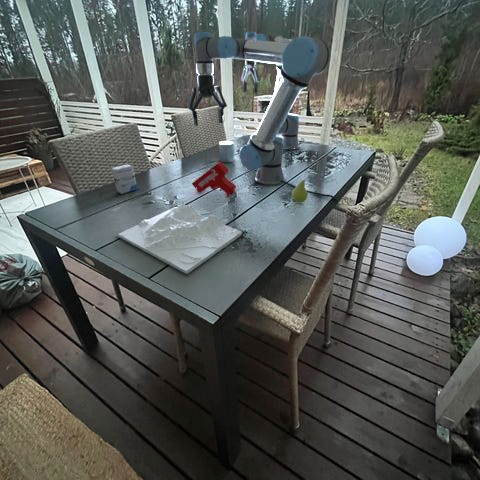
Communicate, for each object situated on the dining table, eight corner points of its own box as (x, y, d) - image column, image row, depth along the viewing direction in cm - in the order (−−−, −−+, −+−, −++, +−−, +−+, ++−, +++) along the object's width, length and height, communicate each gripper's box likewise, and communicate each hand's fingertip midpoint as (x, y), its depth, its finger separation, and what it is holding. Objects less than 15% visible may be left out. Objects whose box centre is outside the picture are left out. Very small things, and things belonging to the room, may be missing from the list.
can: (236, 160, 176) (236, 142, 170) (226, 163, 171) (225, 145, 165) (227, 157, 181) (226, 140, 175) (217, 160, 176) (216, 142, 170)
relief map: (186, 274, 80) (184, 260, 77) (118, 236, 97) (114, 224, 95) (241, 234, 98) (241, 222, 95) (176, 209, 116) (174, 198, 113)
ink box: (133, 186, 138) (127, 163, 132) (137, 189, 135) (132, 165, 129) (116, 191, 133) (110, 167, 127) (121, 194, 130) (114, 170, 124)
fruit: (288, 200, 123) (290, 174, 116) (302, 197, 125) (305, 172, 119) (296, 206, 118) (299, 179, 111) (310, 203, 120) (314, 177, 114)
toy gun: (240, 187, 127) (221, 160, 123) (237, 190, 124) (218, 163, 120) (214, 205, 137) (195, 180, 133) (210, 208, 134) (191, 183, 130)
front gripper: (225, 73, 133) (226, 120, 144) (176, 75, 122) (182, 125, 133) (232, 74, 127) (233, 122, 139) (182, 75, 116) (188, 127, 128)
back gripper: (236, 59, 203) (236, 91, 214) (257, 58, 185) (256, 93, 197) (244, 59, 206) (244, 90, 218) (265, 58, 189) (264, 92, 201)
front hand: (208, 124), depth 136 cm, fingers open, 13 cm apart
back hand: (250, 92), depth 207 cm, fingers open, 13 cm apart
